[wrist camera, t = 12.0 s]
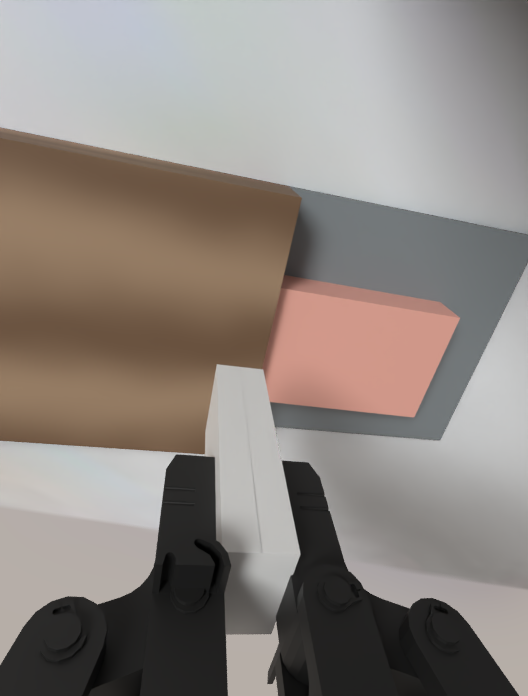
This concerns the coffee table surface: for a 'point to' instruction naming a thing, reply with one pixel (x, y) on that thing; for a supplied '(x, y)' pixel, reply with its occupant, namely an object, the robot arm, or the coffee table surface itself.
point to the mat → (406, 293)
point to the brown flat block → (129, 291)
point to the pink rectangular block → (354, 347)
